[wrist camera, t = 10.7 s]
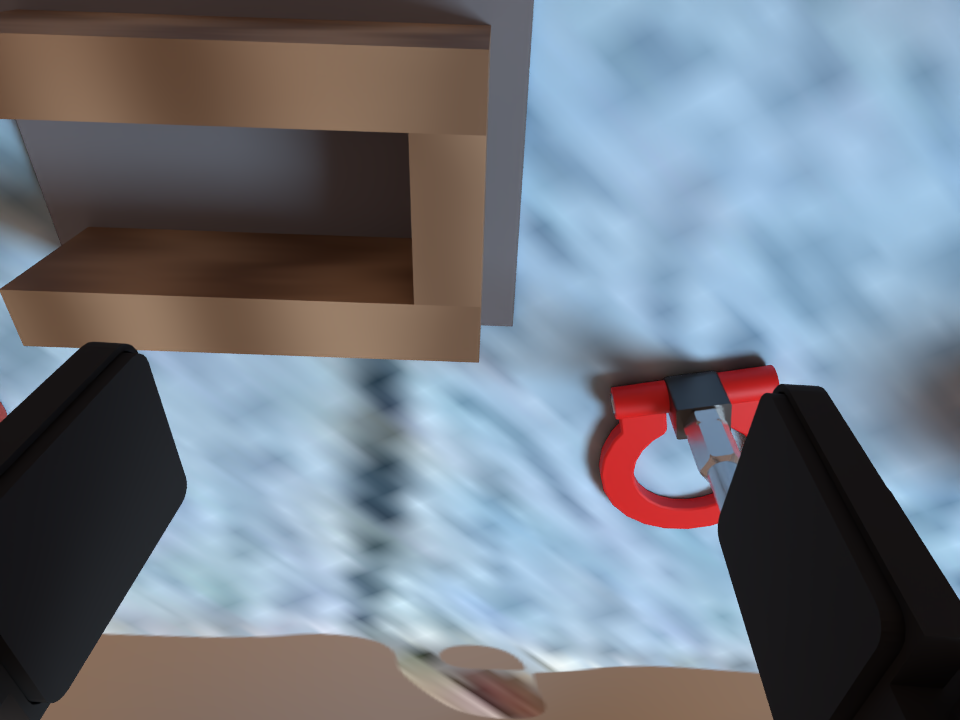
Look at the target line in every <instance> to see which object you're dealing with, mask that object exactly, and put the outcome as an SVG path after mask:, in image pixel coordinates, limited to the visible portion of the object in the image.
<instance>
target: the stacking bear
mask: <svg viewBox="0 0 960 720" xmlns="http://www.w3.org/2000/svg"><path fill="white" fill-rule="evenodd" d="M6 417H7V413H6V410H5V409H4V407H3V405H2V404H1V402H0V422H1V421H2V420H3V419H4V418H6Z"/></svg>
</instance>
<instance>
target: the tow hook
mask: <svg viewBox="0 0 960 720" xmlns="http://www.w3.org/2000/svg"><path fill="white" fill-rule="evenodd" d="M778 385H779V380H778V376H777V373H776V370H775V368H774V367H773V366H772V365H767V366H760V367H753V368H746V369H738V370H731V371H724V372H717V373H716V372H715V371H707V372H700V373H693V374H685V375H678V376H671V377H666V378H664V380H660V381H653V382H646V383H639V384H632V385H625V386H618V387H611V394H610V397H611V404H612V410H613V413H614V416H615V418H616V420H617V419H619V424H618V425H617V426H616V427H615V428H614V429H613V430H612V431H611V432H610V434H609V436H608V438H607V440H606V441H605V443H604V445H603V447H602V450H601V456H600V461H599V469H600V475H601V480H602V485H603V490H604V492H605V494H606V495H607V497H608V498H609V500H610V501H611V503H612V505H614V506H615V507H616V508H617V509H619V510H620V511H621V512H622V513H624V514H625V515H626V516H628V517H630V518H632V519H635V520H637V521H639V522H641V523H644V524H648V525H652V526H657V527H662V528H677V529H690V528H697V527H704V526H711V525H714V524H717V523H718V519H719V515H720V512H721V509H722V506H723V504H724V501H725V498H726V495H727V492H728V489H729V486H730V484H731V481H732V478H733V475H734V472H735V469H736V466H737V463H738V461H739V458H740V455H741V453H740V451H739V449H738V447H737V444H736V442H735V440H734V437H733V435H732V433H731V428H733V429H735V430H737V431H738V432H740V433H742V434H744V435H745V436H746V437H747V435H748V432H749V429H750V426H751V423H752V420H753V417H754V415H755V412H756V409H757V406H758V403H759V400H760V398H761V396H762V395H763V394H765V393H773V391H774V389H775V388H776V387H777V386H778ZM666 413H669V416H670V419H671V422H672V425H673V428H674V431H675V434H676V437H677V439H688V442H689V445H690V448H691V451H692V454H693V457H694V459H695V462H696V465H697V468H698V470H699V472H700V474H701V475H702V476H703V477H704V478H705V479H706V480H707V481H708V482H709V483H710V486H711V488H712V491H713V493H712V494H708V495H705V496H702V497H696V498H689V499H672V498H667V497H663V496H658V495H656V494H654V493H652V492H650V491H648V490H646V489H645V488H644V487H643V486H642V485H640V484H639V483H638V481H637V480H636V478H635V476H634V473H633V472H634V468H635V464H636V461H637V459H638V457H639V456H640V454H641V452H642V451H643V450H644V449H645V448H646V447H647V446H648V445H649V444H650V443H651V442H652V441H653V440H655V439H657V438H658V437H660V436H662V435H663V434H664V433H665V432H666V430H667V422H666Z"/></svg>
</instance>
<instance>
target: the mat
mask: <svg viewBox="0 0 960 720" xmlns="http://www.w3.org/2000/svg"><path fill="white" fill-rule="evenodd" d="M533 6H534V0H0V12H3V11H9V10H16V9H19V10H48V11H77V12H107V13H136V14H166V15H195V16H225V17H254V18H283V19H313V20H342V21H372V22H401V23H431V24H460V25H490V26H491V43H490V73H489V103H488V133H487V163H486V193H485V223H484V253H483V283H482V307H481V325H490V326H513V313H514V297H515V282H516V267H517V251H518V236H519V221H520V205H521V190H522V175H523V159H524V144H525V129H526V113H527V98H528V82H529V67H530V52H531V36H532V21H533ZM16 121H17V124H18V126H19V129H20V132H21V135H22V137H23V140H24V143H25V146H26V148H27V151H28V154H29V157H30V160H31V162H32V165H33V168H34V171H35V173H36V176H37V179H38V182H39V184H40V187H41V190H42V193H43V196H44V198H45V201H46V204H47V207H48V209H49V212H50V215H51V218H52V220H53V223H54V226H55V229H56V232H57V234H58V237H59V240H60V243H61V245H63V244H65V243H66V242H67V241H69V240H70V239H72V238H73V237H75V236H76V235H77V234H79V233H80V232H82V231H83V230H84V229H86V228H87V227H109V228H137V229H165V230H193V231H221V232H249V233H277V234H305V235H334V236H362V237H390V238H412V227H411V198H410V168H409V138H408V133H394V132H365V131H337V130H308V129H279V128H250V127H222V126H193V125H164V124H135V123H107V122H78V121H49V120H21V119H16Z"/></svg>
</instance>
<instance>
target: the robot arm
mask: <svg viewBox="0 0 960 720" xmlns="http://www.w3.org/2000/svg"><path fill="white" fill-rule="evenodd" d="M186 489H187V481H186V476H185V473H184V470H183V467H182V464H181V461H180V458H179V455H178V452H177V449H176V446H175V443H174V439H173V436H172V433H171V430H170V427H169V424H168V421H167V418H166V415H165V412H164V409H163V405H162V402H161V399H160V396H159V393H158V390H157V387H156V384H155V381H154V378H153V375H152V372H151V368H150V365H149V362H148V360H147V358H146V357H145V356H144V355H142V354H138V352H137V350H136V349H135V348H134V347H133V346H132V345H130V344H125V343H109V342H88V343H86V344H85V345H83V346H82V347H81V348H80V349H79V350H78V351H76V352H75V353H74V354H73V355H72V356H71V357H70V358H69V359H68V360H67V361H66V362H65V363H64V364H63V365H61V366H60V367H59V368H58V369H57V370H56V371H55V372H54V373H53V374H52V375H51V376H50V377H49V378H47V379H46V380H45V381H44V382H43V383H42V384H41V385H40V386H39V387H38V388H37V389H36V390H35V391H33V392H32V393H31V394H30V395H29V396H28V397H27V398H26V399H25V400H24V401H23V402H22V403H21V404H20V405H18V406H17V407H16V408H15V409H14V410H13V411H12V412H11V413H10V414H9V415H8V416H7V417H6V418H4V419H3V420H2V421H1V422H0V720H40V719H41V717H42V716H43V714H44V712H45V711H46V709H47V708H48V706H49V705H50V703H54V702H56V701H58V700H60V699H61V698H62V697H63V696H64V694H65V693H66V692H67V690H68V689H69V688H70V686H71V684H72V682H73V681H74V679H75V678H76V676H77V674H78V673H79V671H80V669H81V668H82V666H83V665H84V663H85V661H86V660H87V658H88V656H89V655H90V653H91V651H92V650H93V648H94V646H95V645H96V643H97V641H98V640H99V638H100V637H101V635H102V633H103V632H104V630H105V628H106V627H107V625H108V624H109V622H110V620H111V619H112V617H113V615H114V614H115V612H116V610H117V609H118V607H119V605H120V604H121V602H122V601H123V599H124V597H125V596H126V594H127V592H128V591H129V589H130V587H131V586H132V584H133V582H134V581H135V579H136V578H137V576H138V574H139V573H140V571H141V569H142V568H143V566H144V564H145V563H146V561H147V560H148V558H149V556H150V555H151V553H152V551H153V550H154V548H155V546H156V545H157V543H158V541H159V540H160V538H161V537H162V535H163V533H164V532H165V530H166V528H167V527H168V525H169V523H170V522H171V520H172V518H173V517H174V515H175V514H176V512H177V510H178V509H179V507H180V505H181V504H182V502H183V500H184V497H185V494H186ZM718 537H719V541H720V545H721V548H722V551H723V555H724V558H725V561H726V565H727V568H728V571H729V574H730V578H731V581H732V584H733V588H734V591H735V594H736V598H737V601H738V604H739V607H740V611H741V614H742V617H743V621H744V624H745V627H746V630H747V634H748V637H749V640H750V644H751V647H752V650H753V654H754V657H755V660H756V663H757V667H758V670H759V673H760V677H761V680H762V683H763V686H764V690H765V693H766V696H767V700H768V703H769V706H770V710H771V713H772V716H773V719H774V720H960V600H959V598H958V597H957V595H956V594H955V592H954V590H953V589H952V587H951V586H950V584H949V583H948V581H947V579H946V578H945V576H944V575H943V573H942V572H941V570H940V568H939V567H938V565H937V564H936V562H935V561H934V559H933V557H932V556H931V554H930V553H929V551H928V549H927V548H926V546H925V545H924V543H923V542H922V540H921V538H920V537H919V535H918V534H917V532H916V531H915V529H914V527H913V526H912V524H911V523H910V521H909V519H908V518H907V516H906V515H905V513H904V512H903V510H902V508H901V507H900V505H899V504H898V502H897V501H896V499H895V497H894V496H893V494H892V493H891V491H890V490H889V489H888V488H887V487H886V485H885V484H884V482H883V480H882V479H881V477H880V476H879V474H878V472H877V471H876V469H875V468H874V466H873V464H872V463H871V461H870V460H869V458H868V457H867V455H866V453H865V452H864V450H863V449H862V447H861V445H860V444H859V442H858V441H857V439H856V438H855V436H854V434H853V433H852V431H851V430H850V428H849V426H848V425H847V423H846V422H845V420H844V419H843V417H842V415H841V414H840V412H839V411H838V409H837V407H836V406H835V404H834V403H833V401H832V400H831V398H830V396H829V395H828V393H827V392H826V391H825V390H824V388H822V387H819V386H806V385H790V384H780V385H778V386H777V387H776V388H775V389H774V391H773V393H765V394H763V395H762V396H761V398H760V400H759V403H758V406H757V409H756V412H755V415H754V417H753V420H752V423H751V426H750V429H749V432H748V435H747V438H746V440H745V443H744V446H743V449H742V452H741V455H740V458H739V461H738V463H737V466H736V469H735V472H734V475H733V478H732V481H731V484H730V486H729V489H728V492H727V495H726V498H725V501H724V504H723V506H722V509H721V512H720V515H719V519H718Z"/></svg>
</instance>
